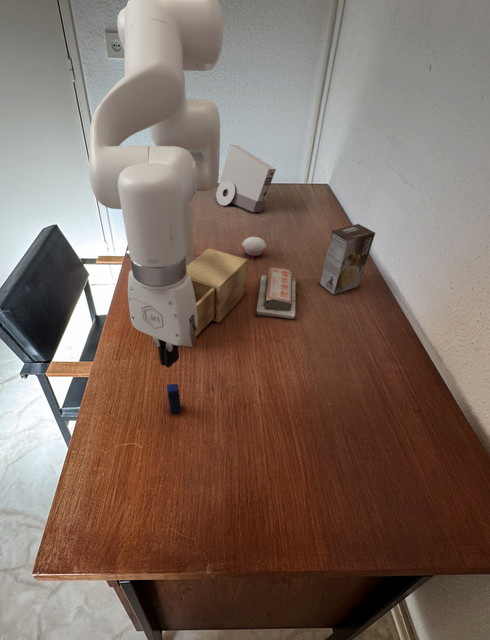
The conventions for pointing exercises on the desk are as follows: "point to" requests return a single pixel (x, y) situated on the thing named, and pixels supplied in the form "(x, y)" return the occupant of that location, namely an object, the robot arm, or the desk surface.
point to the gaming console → (244, 180)
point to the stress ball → (254, 246)
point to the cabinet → (220, 278)
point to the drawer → (204, 304)
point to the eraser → (173, 398)
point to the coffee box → (346, 258)
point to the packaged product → (277, 294)
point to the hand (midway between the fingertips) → (169, 361)
